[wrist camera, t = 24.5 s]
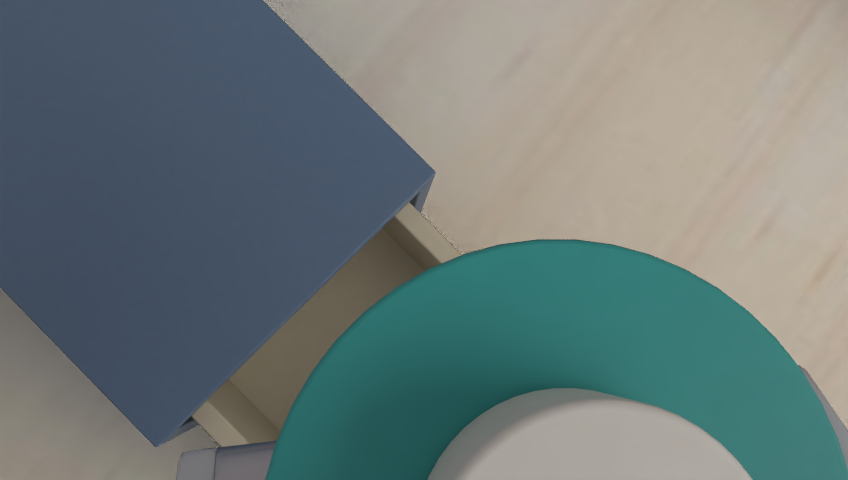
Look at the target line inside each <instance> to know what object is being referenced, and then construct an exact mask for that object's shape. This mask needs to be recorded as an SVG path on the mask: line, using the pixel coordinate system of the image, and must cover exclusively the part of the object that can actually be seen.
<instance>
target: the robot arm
mask: <svg viewBox="0 0 848 480" xmlns="http://www.w3.org/2000/svg"><path fill="white" fill-rule="evenodd" d="M798 366H799V365H798ZM799 368H800V369H801V371H802V372H803V374H804V375H805V377H806V379H807V380H808V382H809V384H810V385H811V387H812V388H813V390H814V392H815V393H816V395H817V397H818V398H819V400H820V401H821V403H822V405H823V407H824V410H825V412H826V414H827V416H828V418H829V420H830V423H831V425H832V427H833V429H834V431H835V434H836V436H837V438H838V440H839V444H840V447H841V450H842V453H843V456H844V459H845V462H846V466H847V469H848V430H847V428H846V427H845V425H844V424H843V423H842V421H841V420H840V418H839V417H838V415H837V414H836V412H835V411H834V410H833V408H832V407H831V405H830V404H829V402H828V401H827V399H826V398H825V397H824V395H823V394H822V392H821V391H820V389H819V388H818V386H817V385H816V384H815V382H814V381H813V379H812V378H811V376H810V375H809V373H808V372H807V370H805V369H804V368H802V367H801V366H799ZM275 443H276V441H270V442H261V443H252V444H244V445H235V446H226V447H218V448H210V449H203V450H195V451H188V452H183V453H182V455H181V457H180V460H179V462H178V468H177V476H176V480H265V478H266V475H267V471H268V468H269V464H270V461H271V457H272V454H273V450H274V446H275Z"/></svg>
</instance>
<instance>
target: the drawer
mask: <svg viewBox="0 0 848 480" xmlns="http://www.w3.org/2000/svg"><path fill="white" fill-rule="evenodd" d="M461 255H462V254H461V253H460V252H459V251H458V250H457V249H456V248H455V247H454V246H453V245H452V244H451V243H450V242H449V241H448V240H447V239H446V238H445V237H444V236H443V235H442V234H441V233H440V232H439V231H438V230H437V229H436V228H435V227H434V226H433V225H432V224H431V223H430V222H429V221H428V220H427V219H426V218H425V217H424V216H423V215H422V214H421V213H420V212H419V211H418V210H417V209H416V208H414V207H413V206H412V205H411V204H410V203H408V204H407V205H405V206H404V207H403V208H402V209H401V210H400V211H399V212H398V213H397V214H396V215H395V216H394V217H393V218H392V219H391V220H390V221H389V222H388V223H387V224H386V225H385V226H384V227H383V228H382V229H381V230H380V231H379V232H378V233H377V234H376V235H375V236H374V237H373V238H372V239H371V240H370V241H369V242H368V243H367V244H366V245H365V246H364V247H363V248H362V249H361V250H360V251H359V252H358V253H357V254H356V255H355V256H354V257H353V258H351V259H350V260H349V261H348V262H347V263H346V264H345V265H344V266H343V267H342V268H341V269H340V270H339V271H338V272H337V273H336V274H335V275H334V276H333V277H332V278H331V279H330V280H329V281H328V282H327V283H326V284H325V285H324V286H323V287H322V288H321V289H320V290H319V291H318V292H317V293H316V294H315V295H314V296H313V297H312V298H311V299H310V300H309V301H308V302H307V303H306V304H305V305H304V306H303V307H302V308H301V309H300V310H299V311H297V312H296V313H295V314H294V315H293V316H292V317H291V318H290V319H289V320H288V321H287V322H286V323H285V324H284V325H283V326H282V327H281V328H280V329H279V330H278V331H277V332H276V333H275V334H274V335H273V336H272V337H271V338H270V339H269V340H268V341H267V342H266V343H265V344H264V345H263V346H262V347H261V348H260V349H259V350H258V351H257V352H256V353H255V354H254V355H253V356H252V357H251V358H250V359H249V360H248V361H247V362H246V363H245V364H243V365H242V366H241V367H240V368H239V369H238V370H237V371H236V372H235V373H234V374H233V375H232V376H231V377H230V378H229V379H228V380H227V381H226V382H225V383H224V384H223V385H222V386H221V387H220V388H219V389H218V390H217V391H216V392H215V393H214V394H213V395H212V396H211V397H210V398H209V399H208V400H207V401H206V402H205V403H204V404H203V405H202V406H201V407H200V408H199V409H198V410H197V411H196V412H195V413H194V414H193V415H192V416H191V417H192V418H193V419H194V420H195V421H196V422H197V423H198V424H199V425H200V426H201V427H202V428H203V429H204V430H205V431H206V432H207V433H208V434H209V435H210V436H211V437H212V438H213V439H214V440H215V441H216V442H217V443H218V444H219V445H220V446H221V447H226V446H235V445H244V444H252V443H261V442H270V441H277V439H278V436H279V434H280V432H281V429H282V427H283V425H284V422H285V420H286V417H287V415H288V413H289V410H290V408H291V406H292V404H293V403H294V401H295V399H296V397H297V396H298V394H299V392H300V391H301V389H302V387H303V385H304V384H305V382H306V380H307V379H308V377H309V375H310V373H311V372H312V370H313V369H314V368H315V367H316V365H317V364H318V363H319V361H320V360H321V359H322V357H323V356H324V355H325V354H326V352H327V351H328V350H329V348H330V347H331V346H332V344H333V343H334V342H335V341H336V339H337V338H338V337H339V336H340V335H341V334H342V333H343V332H344V331H345V330H346V329H347V328H348V327H349V326H350V325H351V324H352V323H353V322H354V321H355V320H356V319H357V318H358V317H359V316H360V315H361V314H362V313H363V312H365V311H366V310H367V309H369V308H370V307H371V306H372V305H374V304H375V303H376V302H378V301H379V300H380V299H382V298H383V297H384V296H385V295H387V294H388V293H389V292H391V291H392V290H393V289H395V288H396V287H398V286H400V285H401V284H403V283H405V282H407V281H408V280H410V279H412V278H413V277H415V276H417V275H419V274H420V273H422V272H424V271H426V270H427V269H429V268H432V267H434V266H437V265H439V264H441V263H444V262H446V261H449V260H451V259H453V258H456V257H458V256H461Z"/></svg>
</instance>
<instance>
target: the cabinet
mask: <svg viewBox="0 0 848 480" xmlns="http://www.w3.org/2000/svg"><path fill="white" fill-rule="evenodd" d="M435 173H436V172H435V171H434V170H433V169H432V168H431V167H430V166H429V165H428V164H427V163H426V162H425V161H424V160H423V159H422V158H421V157H420V156H419V155H418V154H417V153H416V152H415V151H414V150H413V149H412V148H411V147H410V146H409V145H408V144H407V143H406V142H405V141H404V140H403V139H402V138H401V137H400V136H399V135H398V134H397V133H396V132H395V131H394V130H393V129H392V128H391V127H390V126H389V125H388V124H387V123H386V122H385V121H384V120H383V119H382V118H381V117H380V116H379V115H378V114H377V113H376V112H375V111H374V110H373V109H372V108H371V107H370V106H369V105H368V104H367V103H366V102H365V101H364V100H363V99H362V98H361V97H360V96H359V95H358V94H357V93H356V92H355V91H354V90H353V89H352V88H351V87H350V86H349V85H348V84H346V83H345V82H344V81H343V80H342V79H341V78H340V77H339V76H338V75H337V74H336V73H335V72H334V71H333V70H332V69H331V68H330V67H329V66H328V65H327V64H326V63H325V62H324V61H323V60H322V59H321V58H320V57H319V56H318V55H317V54H316V53H315V52H314V51H313V50H312V49H311V48H310V47H309V46H308V45H307V44H306V43H305V42H304V41H303V40H302V39H301V38H300V37H299V36H298V35H297V34H296V33H295V32H294V31H293V30H292V29H291V28H290V27H289V26H288V25H287V24H286V23H285V22H284V21H283V20H282V19H281V18H280V17H279V16H278V15H277V14H276V13H275V12H274V11H273V10H272V9H271V8H270V7H269V6H268V5H267V4H266V3H265V2H264V1H263V0H0V288H1V289H2V290H3V291H4V292H5V293H6V294H7V295H8V296H9V297H10V298H11V299H12V300H13V301H14V302H15V303H16V304H17V305H18V306H19V307H20V308H21V309H22V310H23V311H24V312H25V313H26V314H27V315H28V316H29V317H30V318H31V320H32V321H33V322H34V323H35V324H36V325H37V326H38V327H39V328H40V329H41V330H42V331H43V332H44V333H45V334H46V335H47V336H48V337H49V338H50V339H51V340H52V341H53V342H54V343H55V344H56V345H57V346H58V347H59V348H60V349H61V350H62V351H63V352H64V354H65V355H66V356H67V357H68V358H69V359H70V360H71V361H72V362H73V363H74V364H75V365H76V366H77V367H78V368H79V369H80V370H81V371H82V372H83V373H84V374H85V375H86V376H87V377H88V378H89V379H90V380H91V381H92V382H93V383H94V384H95V385H96V386H97V388H98V389H99V390H100V391H101V392H102V393H103V394H104V395H105V396H106V397H107V398H108V399H109V400H110V401H111V402H112V403H113V404H114V405H115V406H116V407H117V408H118V409H119V410H120V411H121V412H122V413H123V414H124V415H125V416H126V417H127V418H128V419H129V420H130V422H131V423H132V424H133V425H134V426H135V427H136V428H137V429H138V430H139V431H140V432H141V433H142V434H143V435H144V436H145V437H146V438H147V439H148V440H149V441H150V442H151V443H152V444H153V445H154V446H155V447H158V446H159V445H161V444H163V443H165V442H167V441H169V440H171V439H173V438H175V437H177V436H178V435H180V434H182V433H184V432H186V431H188V430H190V429H192V428H194V427H196V426H198V425H199V424H198V423H197V422H196V421H195V420H194V419H193V418H192V417H191V416H192V415H193V414H194V413H195V412H196V411H197V410H198V409H199V408H200V407H201V406H202V405H203V404H204V403H205V402H206V401H207V400H208V399H209V398H210V397H211V396H212V395H213V394H214V393H215V392H216V391H217V390H218V389H219V388H220V387H221V386H222V385H223V384H224V383H225V382H226V381H227V380H228V379H229V378H230V377H231V376H232V375H233V374H234V373H235V372H236V371H237V370H238V369H239V368H240V367H241V366H242V365H243V364H245V363H246V362H247V361H248V360H249V359H250V358H251V357H252V356H253V355H254V354H255V353H256V352H257V351H258V350H259V349H260V348H261V347H262V346H263V345H264V344H265V343H266V342H267V341H268V340H269V339H270V338H271V337H272V336H273V335H274V334H275V333H276V332H277V331H278V330H279V329H280V328H281V327H282V326H283V325H284V324H285V323H286V322H287V321H288V320H289V319H290V318H291V317H292V316H293V315H294V314H295V313H296V312H297V311H299V310H300V309H301V308H302V307H303V306H304V305H305V304H306V303H307V302H308V301H309V300H310V299H311V298H312V297H313V296H314V295H315V294H316V293H317V292H318V291H319V290H320V289H321V288H322V287H323V286H324V285H325V284H326V283H327V282H328V281H329V280H330V279H331V278H332V277H333V276H334V275H335V274H336V273H337V272H338V271H339V270H340V269H341V268H342V267H343V266H344V265H345V264H346V263H347V262H348V261H349V260H350V259H351V258H353V257H354V256H355V255H356V254H357V253H358V252H359V251H360V250H361V249H362V248H363V247H364V246H365V245H366V244H367V243H368V242H369V241H370V240H371V239H372V238H373V237H374V236H375V235H376V234H377V233H378V232H379V231H380V230H381V229H382V228H383V227H384V226H385V225H386V224H387V223H388V222H389V221H390V220H391V219H392V218H393V217H394V216H395V215H396V214H397V213H398V212H399V211H400V210H401V209H402V208H403V207H404V206H405V205H407V204H408V203H410V204H411V205H412V206H413V207H414V208H416V209H417V210H418V211H419V212H420V213H421V210H422V207H423V205H424V202H425V199H426V197H427V194H428V191H429V189H430V186H431V183H432V181H433V178H434V176H435Z"/></svg>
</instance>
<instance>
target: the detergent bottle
mask: <svg viewBox="0 0 848 480" xmlns="http://www.w3.org/2000/svg"><path fill="white" fill-rule="evenodd" d="M265 480H848V469H847V466H846V462H845V459H844V456H843V453H842V450H841V447H840V444H839V440H838V438H837V436H836V434H835V431H834V429H833V427H832V425H831V423H830V420H829V418H828V416H827V414H826V412H825V410H824V407H823V405H822V403H821V401H820V400H819V398H818V397H817V395H816V393H815V392H814V390H813V388H812V387H811V385H810V384H809V382H808V380H807V379H806V377H805V375H804V374H803V372H802V371H801V369H800V368H799V366H798V365H797V364H796V363H795V361H794V360H793V359H792V358H791V356H790V355H789V354H788V353H787V351H786V350H785V349H784V348H783V346H782V345H781V344H780V343H779V341H778V340H777V339H776V338H775V337H774V336H773V335H772V334H771V333H770V332H769V331H768V330H767V329H766V328H765V327H764V326H763V325H762V324H761V323H760V322H759V321H758V320H757V319H756V318H755V317H754V316H753V315H752V314H751V313H750V312H749V311H747V310H746V309H745V308H743V307H742V306H741V305H739V304H738V303H737V302H735V301H734V300H733V299H732V298H730V297H729V296H728V295H726V294H725V293H724V292H722V291H721V290H720V289H718V288H717V287H715V286H713V285H712V284H710V283H708V282H706V281H705V280H703V279H701V278H699V277H698V276H696V275H694V274H692V273H691V272H689V271H687V270H685V269H683V268H681V267H678V266H676V265H674V264H671V263H669V262H666V261H664V260H662V259H659V258H657V257H654V256H652V255H650V254H646V253H642V252H638V251H635V250H631V249H627V248H624V247H620V246H616V245H612V244H605V243H597V242H590V241H582V240H531V241H523V242H515V243H507V244H500V245H496V246H493V247H489V248H485V249H481V250H478V251H474V252H470V253H466V254H463V255H461V256H458V257H456V258H453V259H451V260H449V261H446V262H444V263H441V264H439V265H437V266H434V267H432V268H429V269H427V270H426V271H424V272H422V273H420V274H419V275H417V276H415V277H413V278H412V279H410V280H408V281H407V282H405V283H403V284H401V285H400V286H398V287H396V288H395V289H393V290H392V291H391V292H389V293H388V294H387V295H385V296H384V297H383V298H382V299H380V300H379V301H378V302H376V303H375V304H374V305H372V306H371V307H370V308H369V309H367V310H366V311H365V312H363V313H362V314H361V315H360V316H359V317H358V318H357V319H356V320H355V321H354V322H353V323H352V324H351V325H350V326H349V327H348V328H347V329H346V330H345V331H344V332H343V333H342V334H341V335H340V336H339V337H338V338H337V339H336V341H335V342H334V343H333V344H332V346H331V347H330V348H329V350H328V351H327V352H326V354H325V355H324V356H323V357H322V359H321V360H320V361H319V363H318V364H317V365H316V367H315V368H314V369H313V370H312V372H311V373H310V375H309V377H308V379H307V380H306V382H305V384H304V385H303V387H302V389H301V391H300V392H299V394H298V396H297V397H296V399H295V401H294V403H293V404H292V406H291V408H290V410H289V413H288V415H287V417H286V420H285V422H284V425H283V427H282V429H281V432H280V434H279V436H278V439H277V441H276V443H275V446H274V450H273V454H272V457H271V461H270V464H269V468H268V471H267V475H266V478H265Z"/></svg>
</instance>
